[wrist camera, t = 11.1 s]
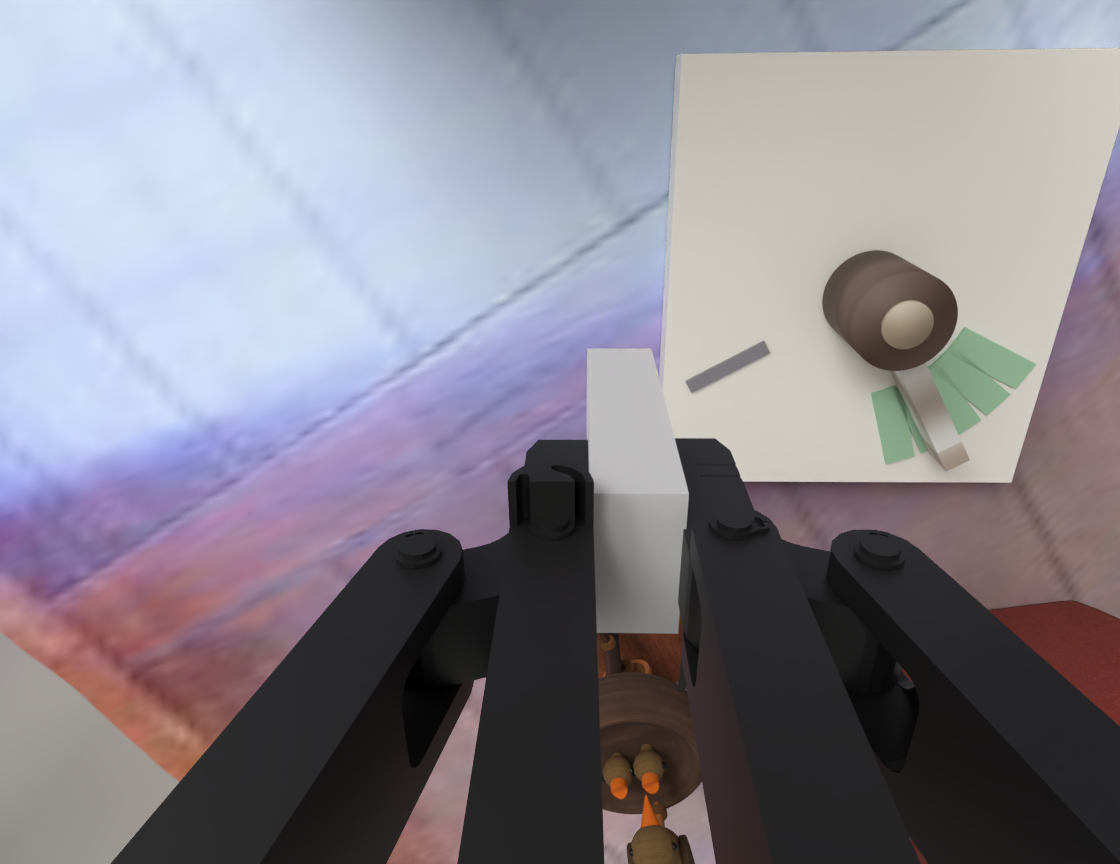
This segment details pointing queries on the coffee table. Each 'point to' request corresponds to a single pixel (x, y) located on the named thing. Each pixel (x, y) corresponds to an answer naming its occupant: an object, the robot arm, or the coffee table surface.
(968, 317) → the board
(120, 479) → the coffee table surface
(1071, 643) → the plant pot
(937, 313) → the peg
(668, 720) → the music box
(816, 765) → the robot arm
